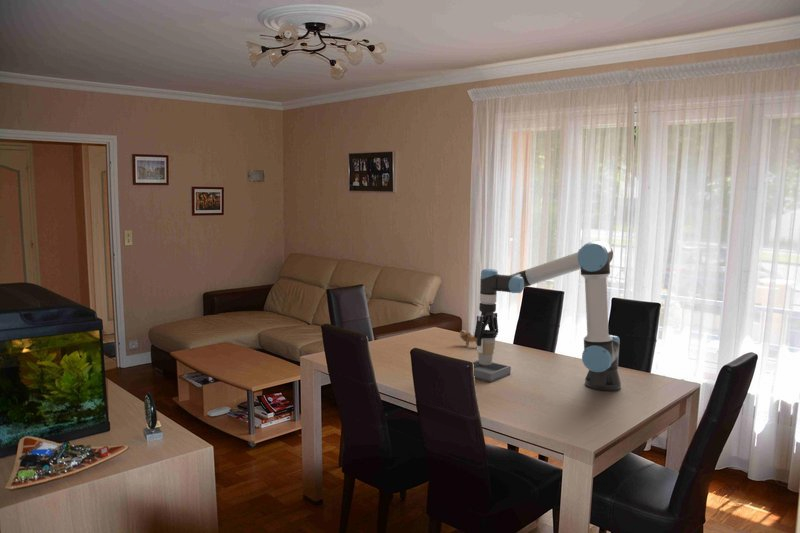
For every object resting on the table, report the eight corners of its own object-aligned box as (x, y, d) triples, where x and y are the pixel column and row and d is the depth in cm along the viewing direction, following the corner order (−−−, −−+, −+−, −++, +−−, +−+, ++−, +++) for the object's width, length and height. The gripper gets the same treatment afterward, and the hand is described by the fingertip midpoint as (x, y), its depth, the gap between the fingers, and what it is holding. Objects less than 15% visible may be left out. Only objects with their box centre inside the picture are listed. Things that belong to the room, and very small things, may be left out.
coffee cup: (494, 361, 284) (496, 329, 282) (495, 366, 275) (497, 334, 273) (474, 360, 285) (475, 328, 283) (475, 365, 276) (476, 333, 274)
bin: (510, 374, 281) (510, 366, 281) (490, 382, 269) (490, 373, 268) (479, 367, 292) (480, 359, 292) (459, 374, 280) (459, 366, 279)
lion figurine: (457, 346, 332) (458, 330, 331) (461, 344, 337) (461, 328, 336) (483, 350, 326) (484, 333, 325) (486, 347, 331) (487, 331, 330)
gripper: (493, 299, 287) (491, 345, 290) (467, 304, 271) (465, 353, 273) (507, 301, 282) (505, 347, 285) (481, 306, 266) (479, 356, 268)
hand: (485, 350), depth 279 cm, fingers closed on coffee cup, 9 cm apart
